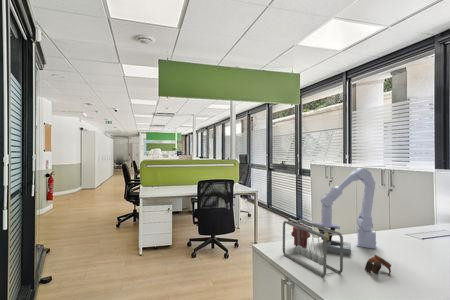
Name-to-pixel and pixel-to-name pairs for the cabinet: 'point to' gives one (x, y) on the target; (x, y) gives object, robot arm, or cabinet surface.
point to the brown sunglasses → (376, 265)
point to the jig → (337, 247)
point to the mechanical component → (304, 233)
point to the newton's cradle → (310, 254)
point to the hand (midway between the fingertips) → (326, 239)
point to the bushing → (326, 236)
